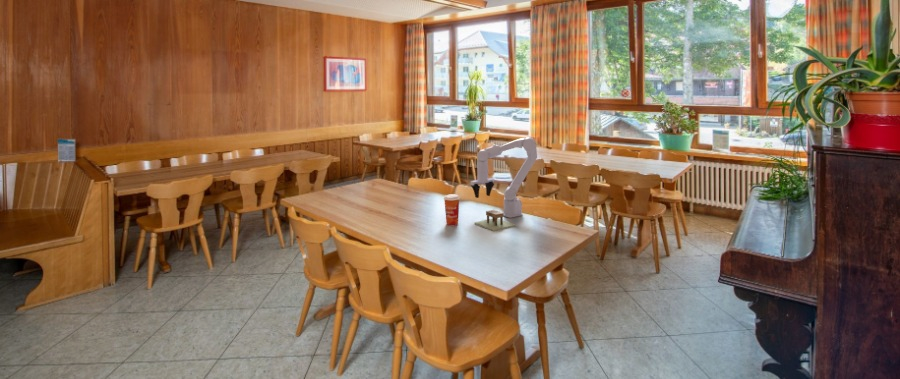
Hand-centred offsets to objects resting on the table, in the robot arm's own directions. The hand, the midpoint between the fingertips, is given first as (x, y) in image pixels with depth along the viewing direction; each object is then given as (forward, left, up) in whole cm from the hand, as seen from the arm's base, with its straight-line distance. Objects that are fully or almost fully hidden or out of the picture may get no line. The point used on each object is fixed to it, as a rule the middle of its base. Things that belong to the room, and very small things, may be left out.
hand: (482, 196), depth 262 cm
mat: (+7, +19, -10) cm, 23 cm away
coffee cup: (+23, +4, -11) cm, 26 cm away
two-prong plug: (+7, +19, -10) cm, 22 cm away
